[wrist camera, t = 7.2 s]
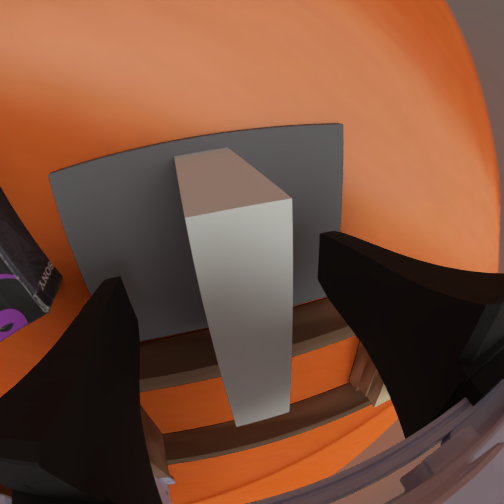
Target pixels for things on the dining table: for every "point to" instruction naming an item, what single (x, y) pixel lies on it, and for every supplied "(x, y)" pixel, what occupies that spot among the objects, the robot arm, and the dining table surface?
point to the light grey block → (242, 276)
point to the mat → (173, 221)
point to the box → (22, 274)
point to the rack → (206, 367)
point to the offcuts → (368, 378)
